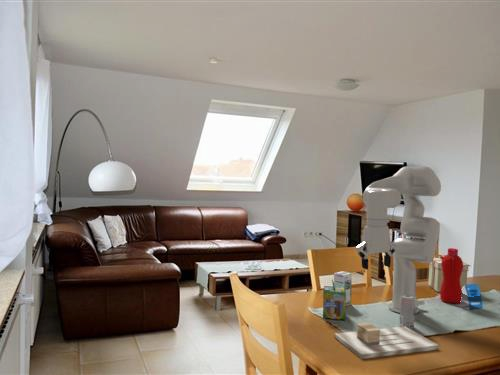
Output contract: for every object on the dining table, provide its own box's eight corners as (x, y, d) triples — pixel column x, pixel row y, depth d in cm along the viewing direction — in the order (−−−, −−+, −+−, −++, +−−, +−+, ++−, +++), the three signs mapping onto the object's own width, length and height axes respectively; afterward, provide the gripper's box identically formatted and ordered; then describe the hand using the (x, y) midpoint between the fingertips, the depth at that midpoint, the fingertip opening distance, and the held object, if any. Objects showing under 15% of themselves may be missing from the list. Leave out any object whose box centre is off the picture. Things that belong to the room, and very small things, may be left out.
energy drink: (413, 325, 169) (414, 295, 169) (414, 330, 164) (415, 299, 164) (399, 323, 171) (400, 293, 171) (399, 328, 166) (400, 297, 165)
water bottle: (440, 303, 199) (442, 249, 198) (439, 297, 209) (441, 246, 208) (462, 306, 195) (465, 251, 194) (460, 299, 205) (462, 247, 204)
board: (404, 330, 164) (405, 326, 164) (438, 349, 147) (438, 345, 147) (334, 337, 155) (334, 333, 155) (361, 358, 138) (361, 354, 138)
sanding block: (356, 337, 152) (357, 323, 151) (368, 336, 153) (368, 322, 153) (367, 345, 145) (368, 331, 145) (379, 344, 146) (379, 329, 146)
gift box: (474, 294, 215) (476, 260, 214) (438, 293, 215) (439, 259, 214) (458, 285, 232) (460, 253, 231) (424, 284, 232) (425, 252, 231)
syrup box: (343, 307, 190) (344, 275, 189) (332, 304, 194) (333, 272, 194) (351, 304, 194) (352, 273, 193) (340, 301, 198) (341, 270, 198)
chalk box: (345, 320, 173) (346, 284, 172) (322, 318, 175) (323, 282, 174) (345, 313, 182) (346, 278, 181) (323, 311, 184) (324, 277, 183)
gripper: (390, 220, 168) (389, 263, 169) (351, 222, 162) (350, 267, 164) (402, 223, 160) (401, 267, 162) (362, 225, 155) (361, 272, 157)
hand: (376, 267), depth 163 cm, fingers open, 9 cm apart
